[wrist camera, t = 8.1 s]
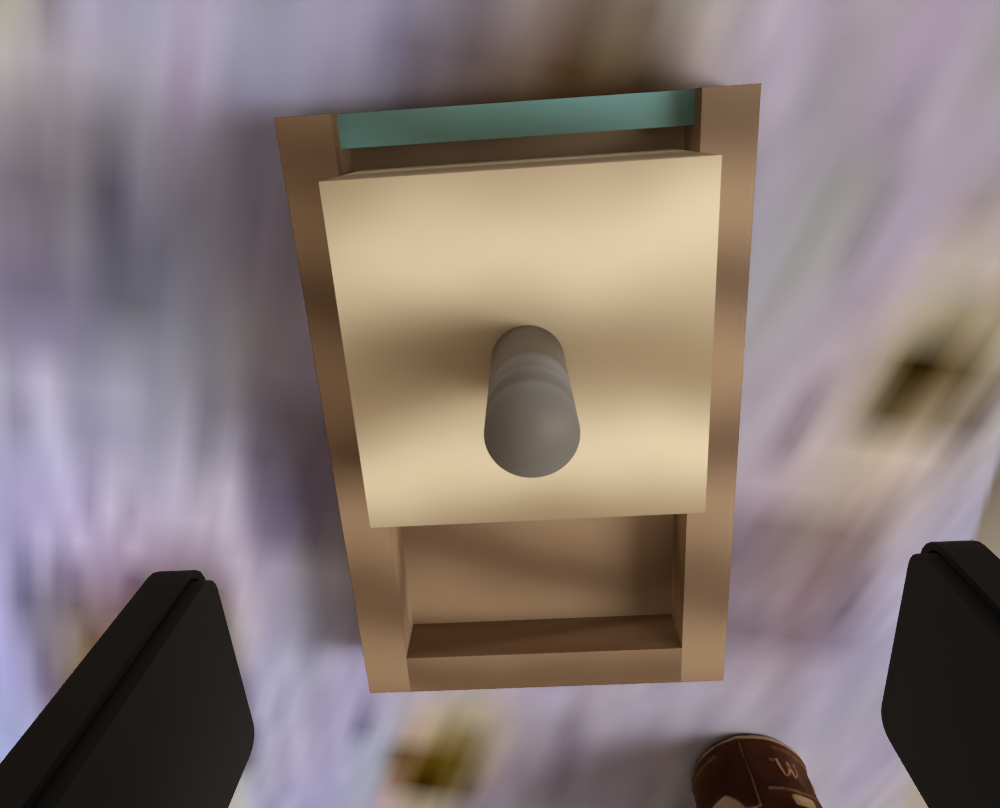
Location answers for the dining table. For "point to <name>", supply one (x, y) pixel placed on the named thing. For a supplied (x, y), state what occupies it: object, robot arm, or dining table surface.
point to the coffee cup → (752, 776)
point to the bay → (539, 543)
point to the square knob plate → (529, 334)
